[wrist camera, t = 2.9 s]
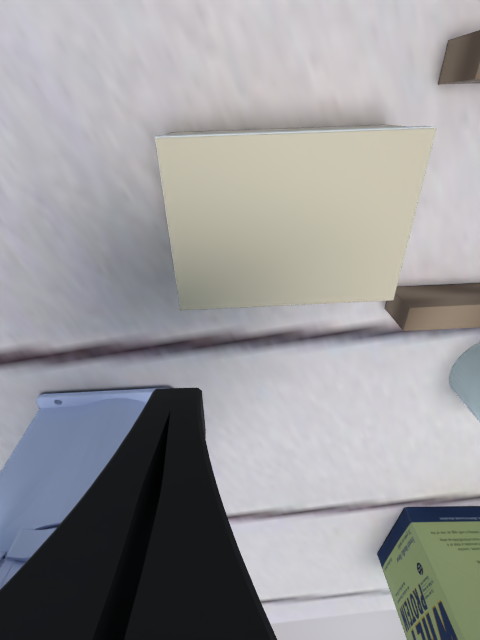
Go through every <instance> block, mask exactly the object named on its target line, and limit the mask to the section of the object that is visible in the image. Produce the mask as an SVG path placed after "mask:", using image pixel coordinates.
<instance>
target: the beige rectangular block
mask: <svg viewBox="0 0 480 640" xmlns="http://www.w3.org/2000/svg"><path fill="white" fill-rule="evenodd" d="M435 132H436V129H435V127H432V126H416V127H408V126H395V125H368V126H340V127H311V128H283V129H254V130H226V131H197V132H171V133H169V134H166V135H162V136H155V142H156V149H157V156H158V162H159V169H160V176H161V183H162V190H163V197H164V204H165V210H166V217H167V224H168V231H169V238H170V245H171V252H172V258H173V265H174V272H175V279H176V286H177V293H178V299H179V306H180V310H199V309H220V308H241V307H263V306H284V305H305V304H326V303H347V302H368V301H389V300H394V296H395V292H396V288H397V284H398V280H399V276H400V272H401V268H402V264H403V260H404V256H405V252H406V248H407V244H408V240H409V236H410V232H411V228H412V224H413V220H414V216H415V212H416V208H417V204H418V200H419V196H420V192H421V188H422V184H423V180H424V176H425V172H426V168H427V164H428V160H429V156H430V152H431V148H432V144H433V140H434V136H435Z"/></svg>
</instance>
